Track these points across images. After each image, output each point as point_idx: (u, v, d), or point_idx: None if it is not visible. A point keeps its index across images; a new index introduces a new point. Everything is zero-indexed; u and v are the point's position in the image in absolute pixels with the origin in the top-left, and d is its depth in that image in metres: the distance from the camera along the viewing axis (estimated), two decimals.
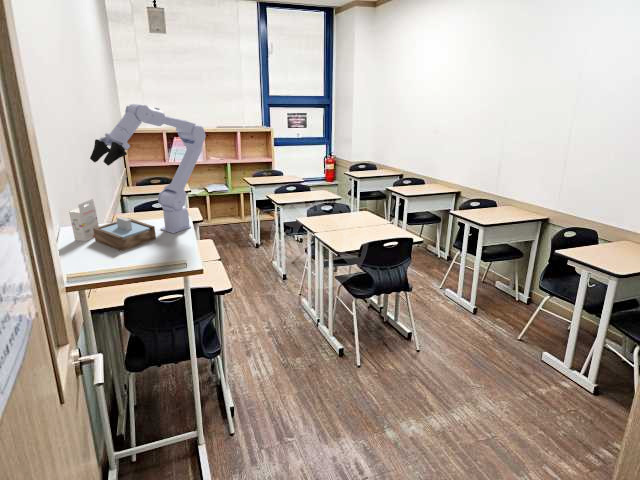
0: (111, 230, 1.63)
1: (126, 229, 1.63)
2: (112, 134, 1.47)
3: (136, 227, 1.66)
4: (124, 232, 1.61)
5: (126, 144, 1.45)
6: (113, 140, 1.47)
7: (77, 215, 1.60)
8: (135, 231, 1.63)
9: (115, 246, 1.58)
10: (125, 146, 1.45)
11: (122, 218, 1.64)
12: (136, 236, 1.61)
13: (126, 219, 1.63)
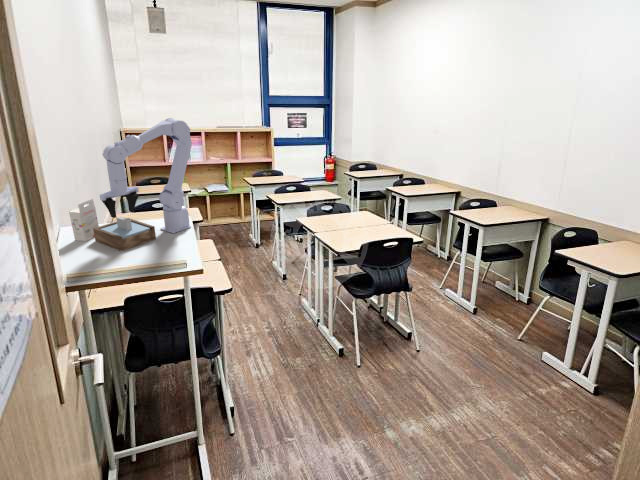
0: (111, 230, 1.63)
1: (126, 229, 1.63)
2: None
3: (136, 227, 1.66)
4: (124, 232, 1.61)
5: (100, 196, 1.54)
6: None
7: (77, 215, 1.60)
8: (135, 231, 1.63)
9: (115, 246, 1.58)
10: (101, 198, 1.55)
11: (122, 218, 1.64)
12: (136, 236, 1.61)
13: (126, 219, 1.63)
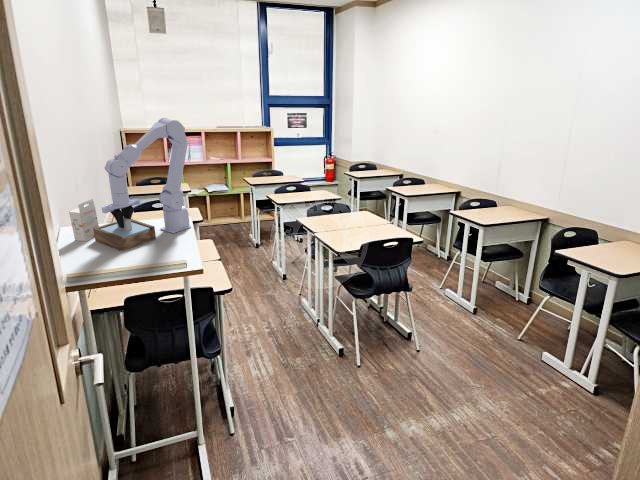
0: (111, 230, 1.63)
1: (126, 229, 1.63)
2: None
3: (136, 227, 1.66)
4: (124, 232, 1.61)
5: (102, 209, 1.56)
6: None
7: (77, 215, 1.60)
8: (135, 231, 1.63)
9: (115, 246, 1.58)
10: (103, 211, 1.56)
11: None
12: (136, 236, 1.61)
13: (126, 219, 1.63)
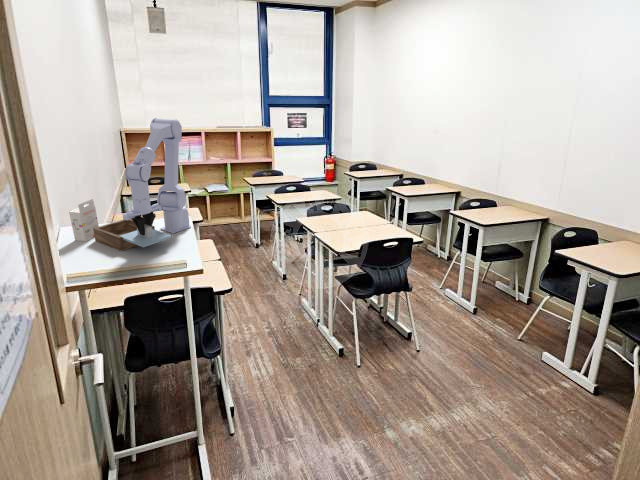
0: (131, 237, 1.57)
1: (147, 236, 1.57)
2: None
3: (157, 235, 1.60)
4: (145, 240, 1.55)
5: (123, 216, 1.50)
6: None
7: (77, 215, 1.60)
8: (156, 239, 1.57)
9: (115, 246, 1.58)
10: (124, 218, 1.50)
11: None
12: None
13: (147, 226, 1.57)
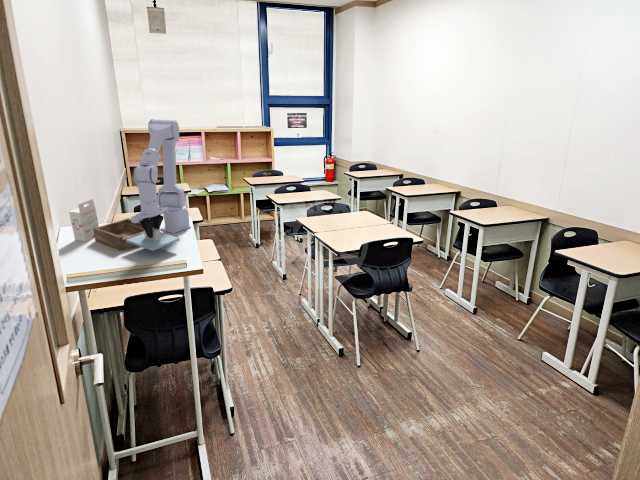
0: (139, 241, 1.55)
1: (155, 240, 1.55)
2: None
3: (165, 238, 1.58)
4: (153, 243, 1.53)
5: (132, 219, 1.48)
6: None
7: (77, 215, 1.60)
8: (165, 242, 1.55)
9: (115, 246, 1.58)
10: (132, 221, 1.48)
11: None
12: None
13: (155, 229, 1.55)
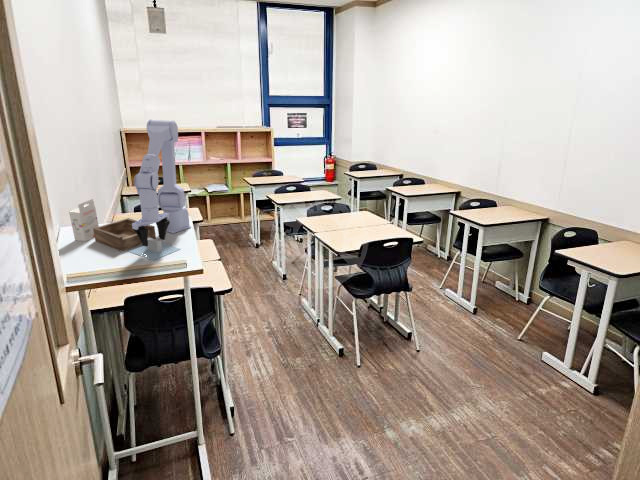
0: (141, 252, 1.56)
1: (156, 251, 1.57)
2: None
3: (166, 248, 1.60)
4: (155, 254, 1.55)
5: (132, 225, 1.49)
6: None
7: (77, 215, 1.60)
8: (166, 253, 1.56)
9: (115, 246, 1.58)
10: (133, 227, 1.49)
11: (152, 239, 1.57)
12: (136, 236, 1.61)
13: (156, 240, 1.57)
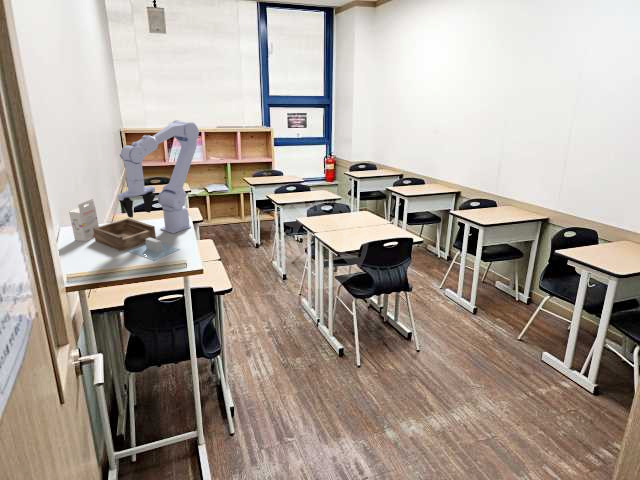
0: (140, 252, 1.56)
1: (156, 251, 1.57)
2: None
3: (166, 249, 1.60)
4: (155, 254, 1.55)
5: (118, 196, 1.55)
6: None
7: (77, 215, 1.60)
8: (166, 253, 1.56)
9: (115, 246, 1.58)
10: (118, 198, 1.55)
11: (152, 239, 1.57)
12: (136, 236, 1.61)
13: (156, 240, 1.57)
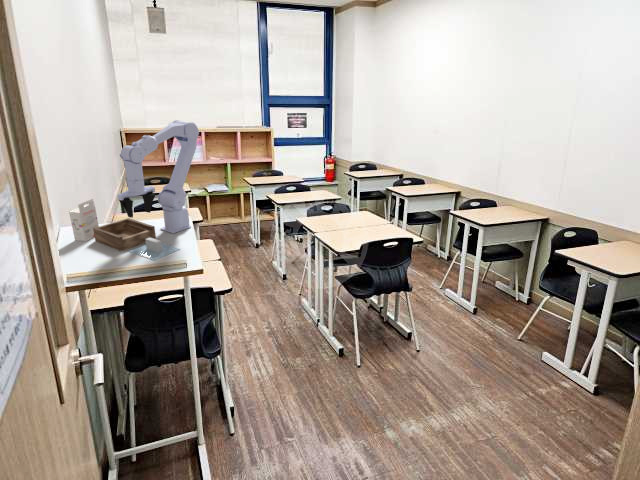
0: (140, 252, 1.56)
1: (156, 251, 1.57)
2: None
3: (166, 248, 1.60)
4: (155, 254, 1.55)
5: (118, 196, 1.55)
6: None
7: (77, 215, 1.60)
8: (166, 253, 1.56)
9: (115, 246, 1.58)
10: (118, 198, 1.55)
11: (152, 239, 1.57)
12: (136, 236, 1.61)
13: (156, 240, 1.57)
